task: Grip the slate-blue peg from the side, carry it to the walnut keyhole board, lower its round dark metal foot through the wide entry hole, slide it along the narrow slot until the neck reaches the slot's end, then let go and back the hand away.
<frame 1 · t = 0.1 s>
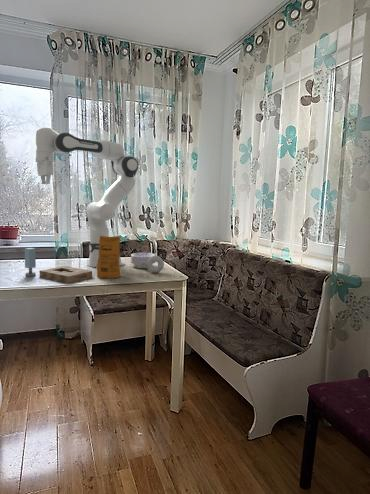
hand: (45, 184, 185), 48 cm above the table, tool pointing down, fingers open, 8 cm apart
keyhole board: (66, 277, 175), on the table
donut: (155, 273, 193), on the table
paper bowls: (143, 267, 209), on the table
keyhole peg: (30, 276, 175), on the table
coffee package: (108, 276, 180), on the table
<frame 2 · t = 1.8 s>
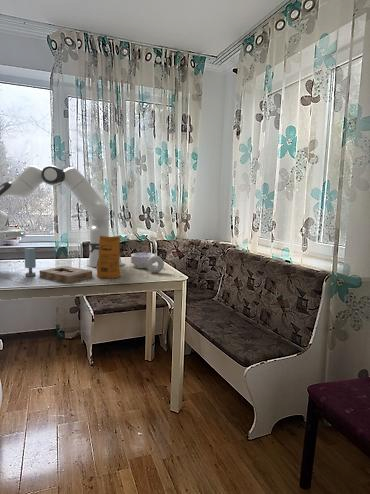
hand: (14, 235, 178), 20 cm above the table, tool horizontal, fingers open, 8 cm apart
nothing on the table moved.
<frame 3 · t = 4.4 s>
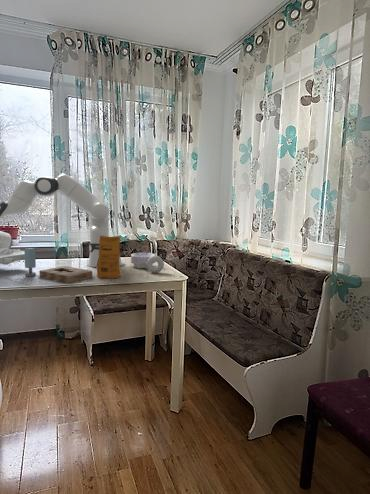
hand: (20, 259, 178), 8 cm above the table, tool horizontal, fingers open, 8 cm apart
nothing on the table moved.
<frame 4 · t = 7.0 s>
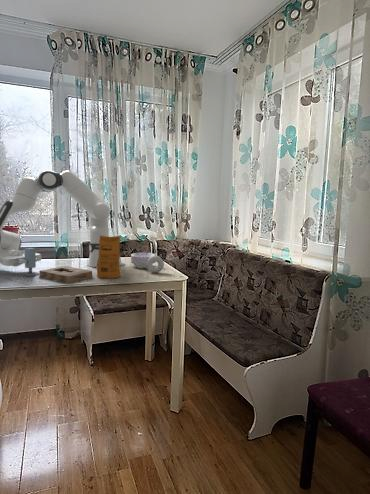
hand: (31, 261, 174), 8 cm above the table, tool horizontal, fingers closed on keyhole peg, 4 cm apart
keyhole peg: (30, 275, 175), on the table, touching gripper
everything else where it was.
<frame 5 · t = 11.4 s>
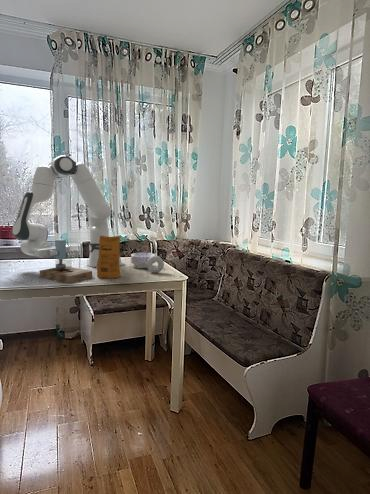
hand: (61, 252, 174), 13 cm above the table, tool horizontal, fingers closed on keyhole peg, 4 cm apart
keyhole peg: (60, 267, 176), point 5 cm above the table, touching gripper
everything else where it was.
when the fingers open (8 cm above the table, at t = 15.8 s): keyhole peg stays where it is, resting in keyhole board.
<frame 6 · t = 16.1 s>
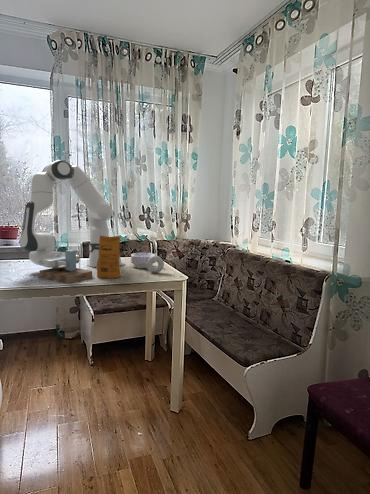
hand: (72, 262, 172), 8 cm above the table, tool horizontal, fingers open, 6 cm apart
keyhole peg: (70, 278, 173), resting in keyhole board
everything else where it was.
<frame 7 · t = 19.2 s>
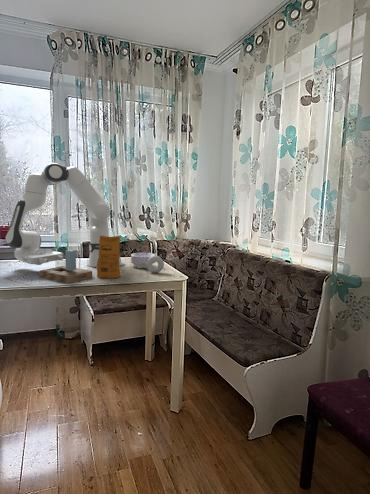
hand: (54, 259, 178), 8 cm above the table, tool horizontal, fingers open, 8 cm apart
nothing on the table moved.
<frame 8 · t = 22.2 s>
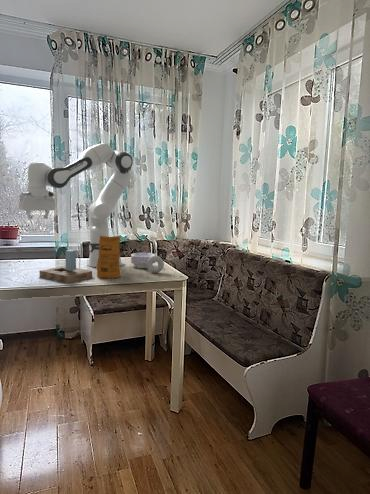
hand: (38, 219, 181), 29 cm above the table, tool pointing down, fingers open, 8 cm apart
nothing on the table moved.
at the end: keyhole peg 0.1 cm from the target spot on the keyhole board, point 0.0 cm above the keyhole board's base; keyhole peg tilted 0°; the gripper is holding nothing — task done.
